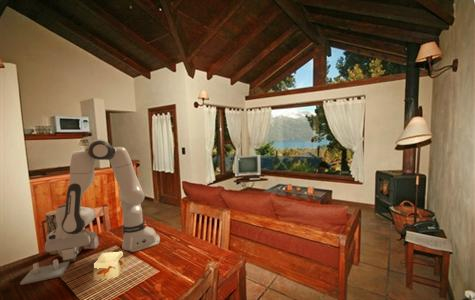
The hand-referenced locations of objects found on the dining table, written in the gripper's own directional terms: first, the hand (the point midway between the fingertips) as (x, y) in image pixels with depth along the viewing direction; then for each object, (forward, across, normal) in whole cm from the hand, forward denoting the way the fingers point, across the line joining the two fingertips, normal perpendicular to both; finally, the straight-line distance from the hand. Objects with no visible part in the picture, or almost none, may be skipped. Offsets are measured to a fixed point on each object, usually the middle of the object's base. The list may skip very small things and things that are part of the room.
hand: (69, 254), depth 121 cm
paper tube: (+3, +10, -12) cm, 16 cm away
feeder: (+3, 0, -8) cm, 9 cm away
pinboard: (+3, +7, +10) cm, 12 cm away
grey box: (+3, -8, -10) cm, 13 cm away
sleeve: (+3, 0, 0) cm, 3 cm away
